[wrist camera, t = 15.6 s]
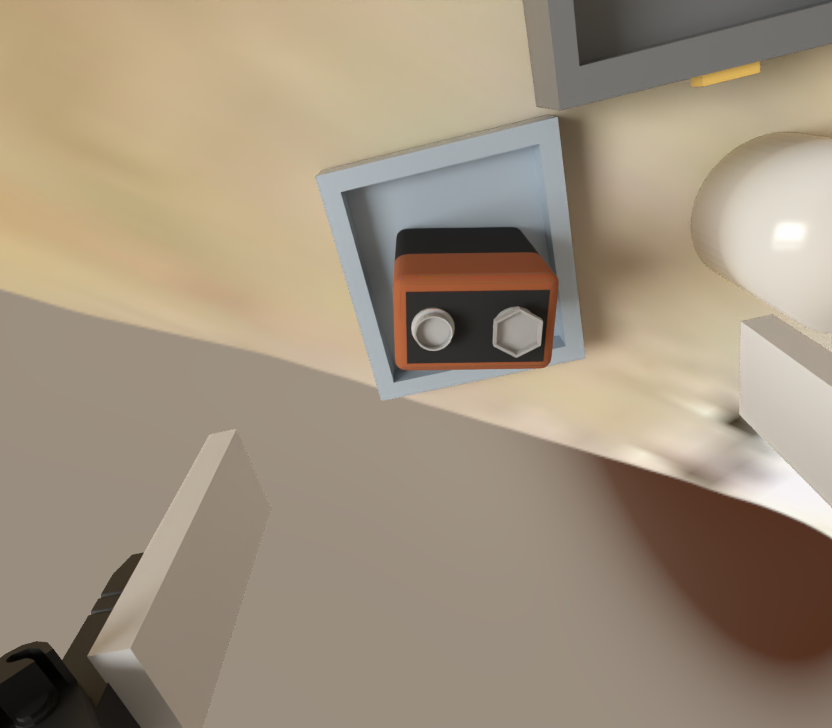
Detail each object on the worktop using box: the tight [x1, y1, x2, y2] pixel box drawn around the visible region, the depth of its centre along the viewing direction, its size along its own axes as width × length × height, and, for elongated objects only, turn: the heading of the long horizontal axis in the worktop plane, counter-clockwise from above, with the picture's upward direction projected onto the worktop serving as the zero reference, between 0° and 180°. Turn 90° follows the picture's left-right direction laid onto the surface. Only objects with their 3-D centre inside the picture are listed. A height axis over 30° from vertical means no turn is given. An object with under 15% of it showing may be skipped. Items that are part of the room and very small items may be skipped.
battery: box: [393, 227, 559, 370], centre depth 28 cm, size 4×7×10 cm, turn 91°
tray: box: [315, 115, 585, 401], centre depth 32 cm, size 13×12×2 cm
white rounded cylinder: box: [691, 132, 832, 334], centre depth 28 cm, size 8×8×8 cm
